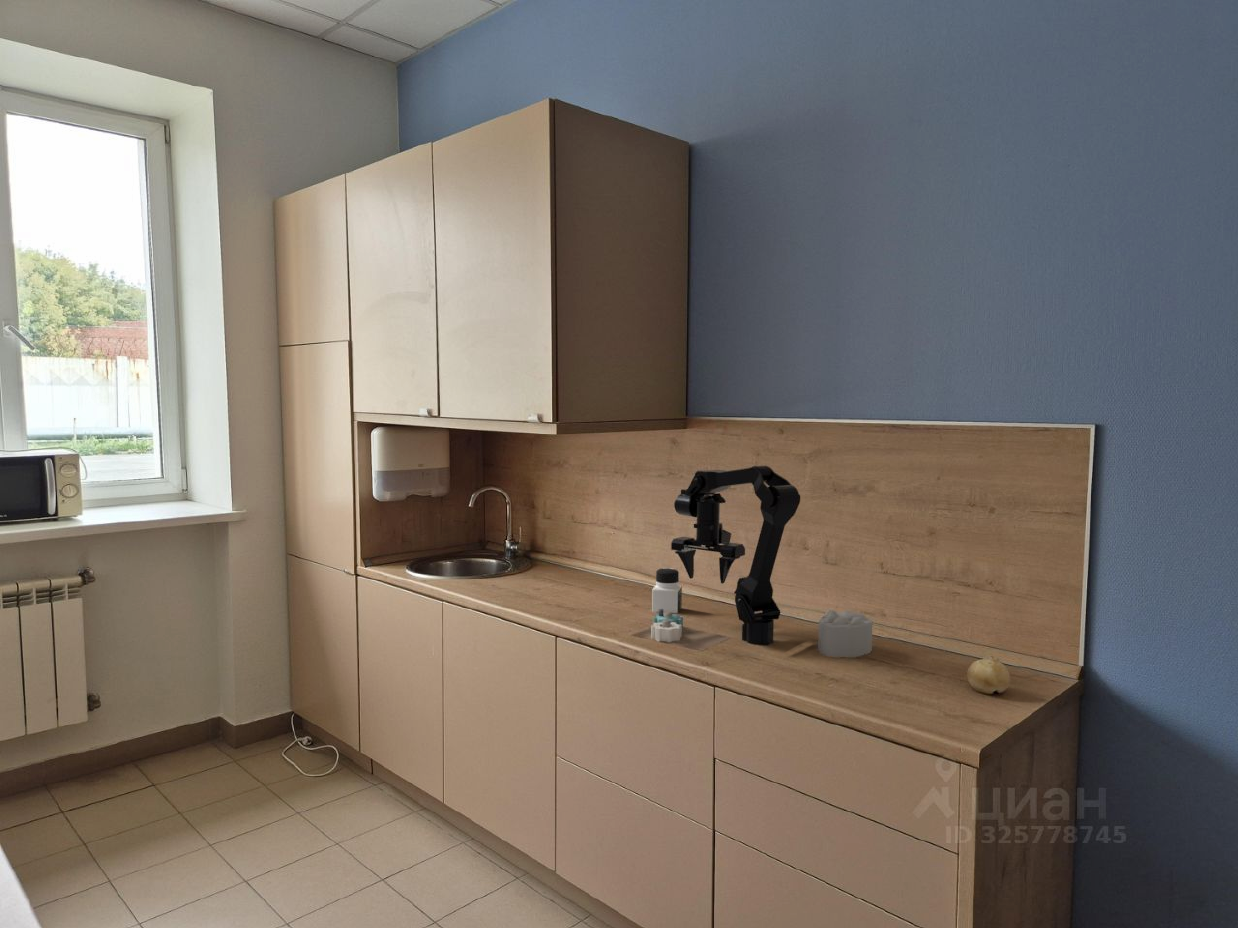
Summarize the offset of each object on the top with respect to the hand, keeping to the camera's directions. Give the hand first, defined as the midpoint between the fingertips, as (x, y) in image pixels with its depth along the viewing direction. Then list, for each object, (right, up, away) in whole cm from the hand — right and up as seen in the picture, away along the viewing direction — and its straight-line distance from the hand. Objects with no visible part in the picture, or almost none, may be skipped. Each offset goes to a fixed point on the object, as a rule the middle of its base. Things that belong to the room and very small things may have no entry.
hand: (706, 580), depth 216 cm
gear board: (-7, -13, -11) cm, 19 cm away
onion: (+52, -16, -44) cm, 70 cm away
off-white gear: (-11, -12, -13) cm, 21 cm away
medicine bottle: (-9, -11, +15) cm, 21 cm away
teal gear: (-10, -11, -5) cm, 16 cm away
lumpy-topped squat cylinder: (+30, -14, -18) cm, 37 cm away
